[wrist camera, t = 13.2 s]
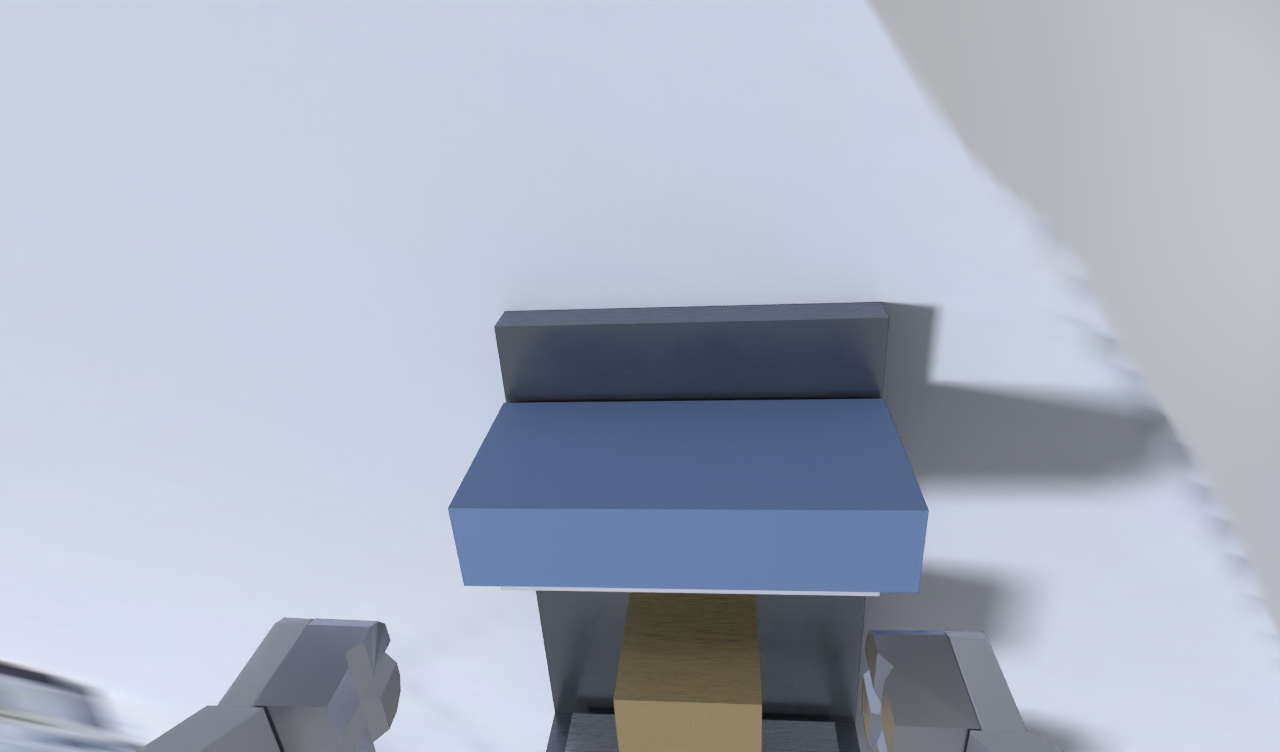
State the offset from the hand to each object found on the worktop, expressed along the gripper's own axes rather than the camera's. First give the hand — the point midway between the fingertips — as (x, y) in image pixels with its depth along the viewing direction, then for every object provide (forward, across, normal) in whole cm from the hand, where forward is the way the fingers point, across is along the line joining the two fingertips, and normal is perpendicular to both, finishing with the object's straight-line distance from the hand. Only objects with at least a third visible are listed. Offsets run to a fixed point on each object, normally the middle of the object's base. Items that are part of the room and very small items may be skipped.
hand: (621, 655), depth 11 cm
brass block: (+17, 0, +15) cm, 23 cm away
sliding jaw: (+17, 0, +7) cm, 18 cm away
